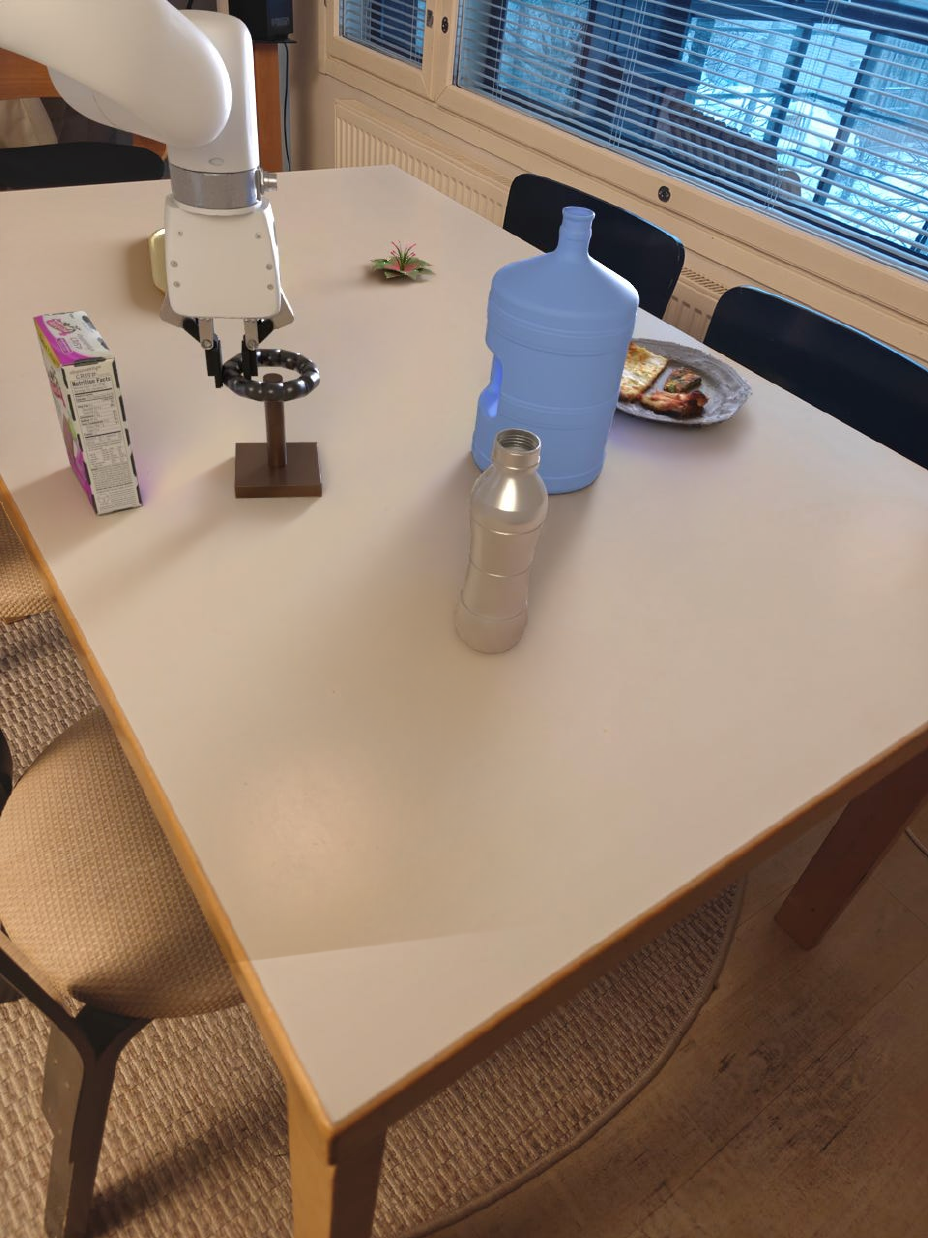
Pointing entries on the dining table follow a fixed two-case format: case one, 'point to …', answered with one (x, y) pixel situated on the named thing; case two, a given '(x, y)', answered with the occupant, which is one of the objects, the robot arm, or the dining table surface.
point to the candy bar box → (89, 410)
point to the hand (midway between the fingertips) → (233, 380)
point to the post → (276, 460)
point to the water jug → (557, 356)
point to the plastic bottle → (502, 543)
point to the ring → (272, 390)
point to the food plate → (678, 385)
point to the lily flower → (402, 265)
